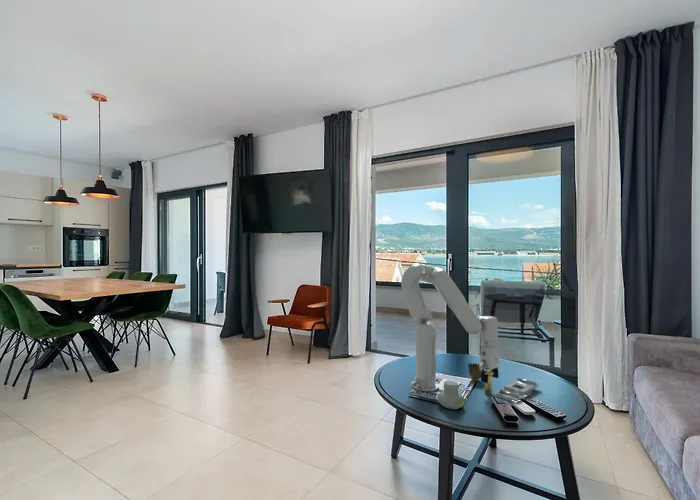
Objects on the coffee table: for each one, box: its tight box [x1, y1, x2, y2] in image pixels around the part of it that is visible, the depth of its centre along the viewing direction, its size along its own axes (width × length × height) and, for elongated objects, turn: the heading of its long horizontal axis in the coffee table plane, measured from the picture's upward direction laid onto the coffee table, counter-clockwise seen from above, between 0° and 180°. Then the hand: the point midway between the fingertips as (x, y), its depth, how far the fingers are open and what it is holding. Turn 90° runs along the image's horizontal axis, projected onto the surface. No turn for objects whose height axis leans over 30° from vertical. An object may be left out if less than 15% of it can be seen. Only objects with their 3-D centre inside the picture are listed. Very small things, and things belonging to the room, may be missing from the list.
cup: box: [467, 362, 481, 382], centre depth 179 cm, size 8×7×8 cm
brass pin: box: [483, 369, 493, 395], centre depth 163 cm, size 4×4×10 cm
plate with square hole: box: [495, 377, 540, 402], centre depth 164 cm, size 24×9×4 cm, turn 131°
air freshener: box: [437, 380, 465, 410], centre depth 149 cm, size 11×8×10 cm
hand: (489, 379), depth 163 cm, fingers open, 9 cm apart
